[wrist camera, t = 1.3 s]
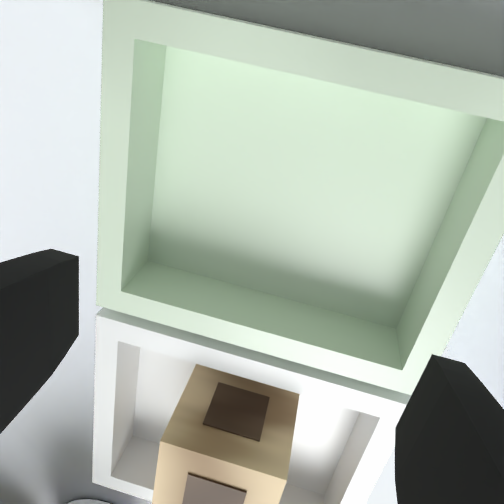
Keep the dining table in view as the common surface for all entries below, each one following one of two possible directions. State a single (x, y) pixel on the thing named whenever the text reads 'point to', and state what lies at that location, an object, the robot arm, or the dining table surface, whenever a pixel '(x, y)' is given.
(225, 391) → the letter cube
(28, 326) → the robot arm
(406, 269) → the sage tray
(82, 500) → the supplement bottle
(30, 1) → the dining table surface
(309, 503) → the white tray
